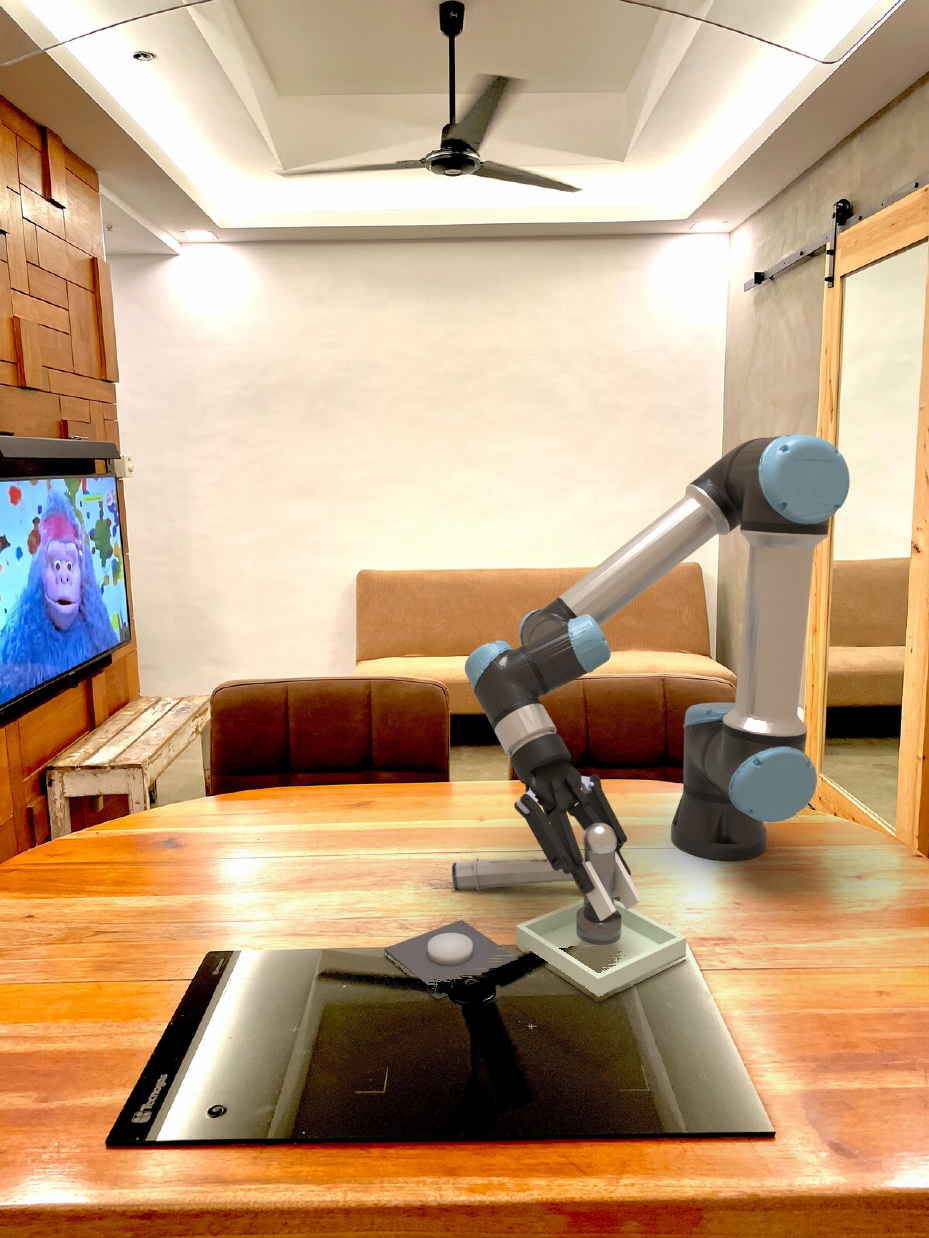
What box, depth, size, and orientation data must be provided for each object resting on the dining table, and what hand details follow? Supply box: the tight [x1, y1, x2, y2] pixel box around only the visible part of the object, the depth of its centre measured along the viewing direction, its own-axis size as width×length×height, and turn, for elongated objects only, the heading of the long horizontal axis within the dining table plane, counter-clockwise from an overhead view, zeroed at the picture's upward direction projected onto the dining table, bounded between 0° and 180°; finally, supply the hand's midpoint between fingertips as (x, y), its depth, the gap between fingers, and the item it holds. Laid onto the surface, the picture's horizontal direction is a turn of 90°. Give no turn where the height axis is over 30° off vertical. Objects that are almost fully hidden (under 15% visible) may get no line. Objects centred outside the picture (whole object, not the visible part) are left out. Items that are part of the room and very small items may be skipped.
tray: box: [515, 898, 687, 997], centre depth 110 cm, size 15×15×3 cm
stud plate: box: [384, 919, 519, 989], centre depth 109 cm, size 12×12×2 cm
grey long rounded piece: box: [451, 857, 619, 898], centre depth 127 cm, size 5×7×25 cm
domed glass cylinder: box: [576, 823, 621, 945], centre depth 109 cm, size 6×6×14 cm
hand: (621, 909), depth 106 cm, fingers closed on domed glass cylinder, 4 cm apart
